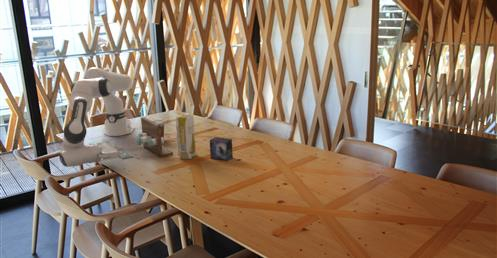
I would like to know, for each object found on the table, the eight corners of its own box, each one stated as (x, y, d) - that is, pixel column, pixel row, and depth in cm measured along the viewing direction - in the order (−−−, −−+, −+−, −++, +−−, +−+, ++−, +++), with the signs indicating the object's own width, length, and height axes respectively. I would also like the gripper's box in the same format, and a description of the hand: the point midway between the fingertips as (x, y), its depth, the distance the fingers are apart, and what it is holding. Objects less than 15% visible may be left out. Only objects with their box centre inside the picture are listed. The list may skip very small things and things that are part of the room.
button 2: (151, 147, 225) (150, 139, 224) (148, 145, 229) (147, 138, 228) (164, 144, 230) (164, 137, 228) (161, 143, 233) (160, 135, 232)
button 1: (141, 141, 237) (141, 134, 235) (139, 140, 240) (138, 132, 239) (154, 139, 241) (154, 131, 240) (151, 137, 244) (151, 130, 243)
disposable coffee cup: (168, 138, 262) (166, 120, 258) (163, 143, 252) (162, 124, 249) (153, 138, 263) (151, 120, 259) (148, 143, 253) (146, 124, 250)
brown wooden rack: (159, 157, 227) (156, 125, 222) (143, 147, 245) (140, 117, 240) (173, 154, 231) (170, 123, 226) (156, 145, 250) (154, 115, 245)
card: (122, 159, 226) (122, 157, 226) (115, 153, 236) (115, 152, 236) (133, 156, 230) (133, 155, 229) (126, 151, 239) (125, 150, 239)
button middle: (140, 145, 229) (139, 138, 228) (137, 144, 233) (136, 136, 231) (153, 143, 233) (152, 135, 232) (150, 141, 237) (149, 133, 236)
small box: (209, 158, 223) (208, 139, 220) (216, 155, 229) (215, 136, 226) (227, 161, 218) (226, 142, 215) (233, 157, 224) (232, 138, 221)
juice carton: (191, 159, 222) (188, 115, 216) (177, 159, 224) (173, 115, 217) (197, 154, 231) (194, 111, 224) (183, 153, 232) (180, 111, 226)
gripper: (100, 152, 202) (128, 146, 209) (88, 142, 218) (115, 137, 226) (101, 164, 203) (129, 158, 211) (90, 154, 220) (116, 149, 227)
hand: (122, 147), depth 218 cm, fingers closed
